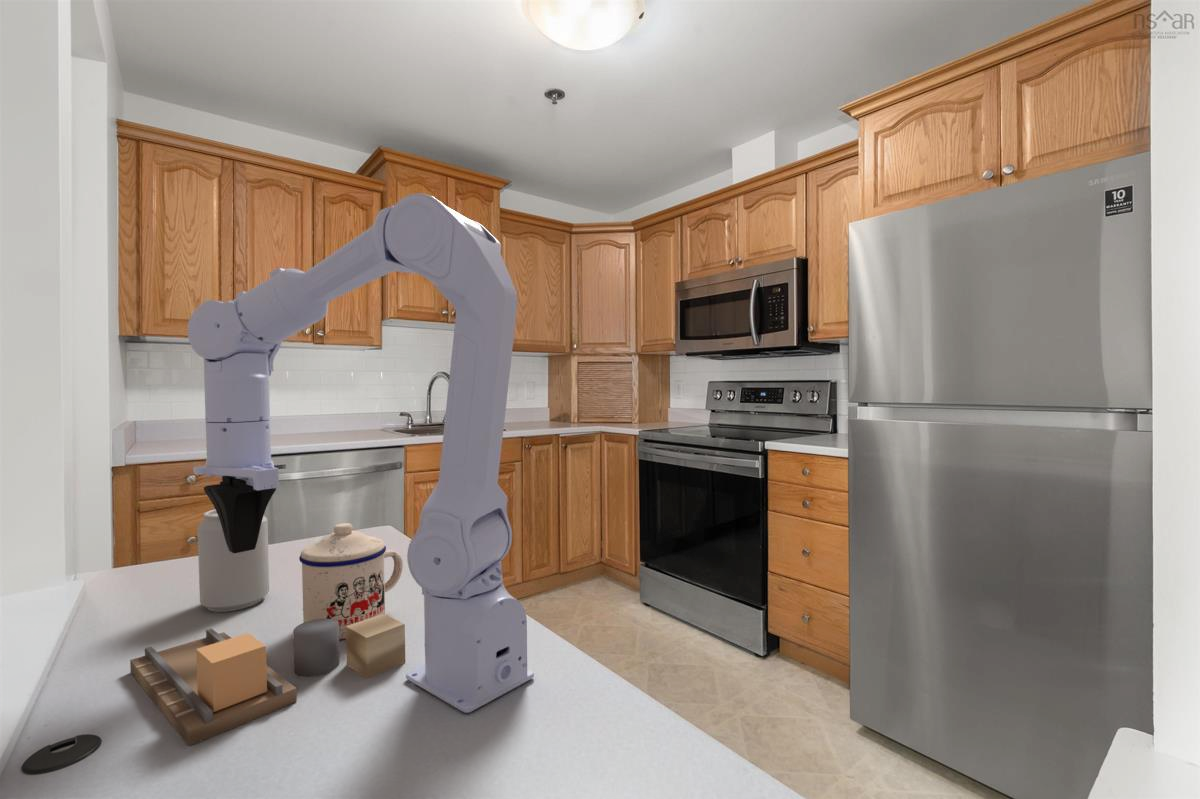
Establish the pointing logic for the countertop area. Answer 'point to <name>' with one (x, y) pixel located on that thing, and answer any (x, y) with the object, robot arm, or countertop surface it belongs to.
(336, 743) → the countertop surface
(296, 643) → the charcoal cylinder
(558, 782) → the countertop surface
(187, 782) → the countertop surface
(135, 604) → the countertop surface
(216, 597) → the can
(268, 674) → the board
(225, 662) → the slider
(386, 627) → the oak block
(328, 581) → the teacup with lid
